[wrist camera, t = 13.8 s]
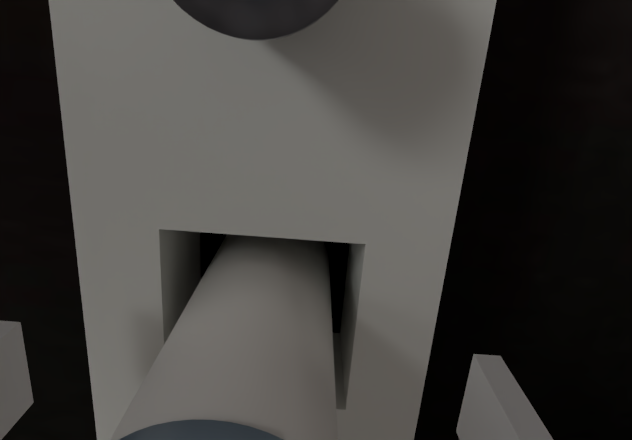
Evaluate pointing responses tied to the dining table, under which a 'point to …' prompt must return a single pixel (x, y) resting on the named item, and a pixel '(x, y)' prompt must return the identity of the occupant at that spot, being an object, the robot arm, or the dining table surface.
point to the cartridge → (246, 351)
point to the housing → (269, 175)
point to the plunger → (257, 16)
